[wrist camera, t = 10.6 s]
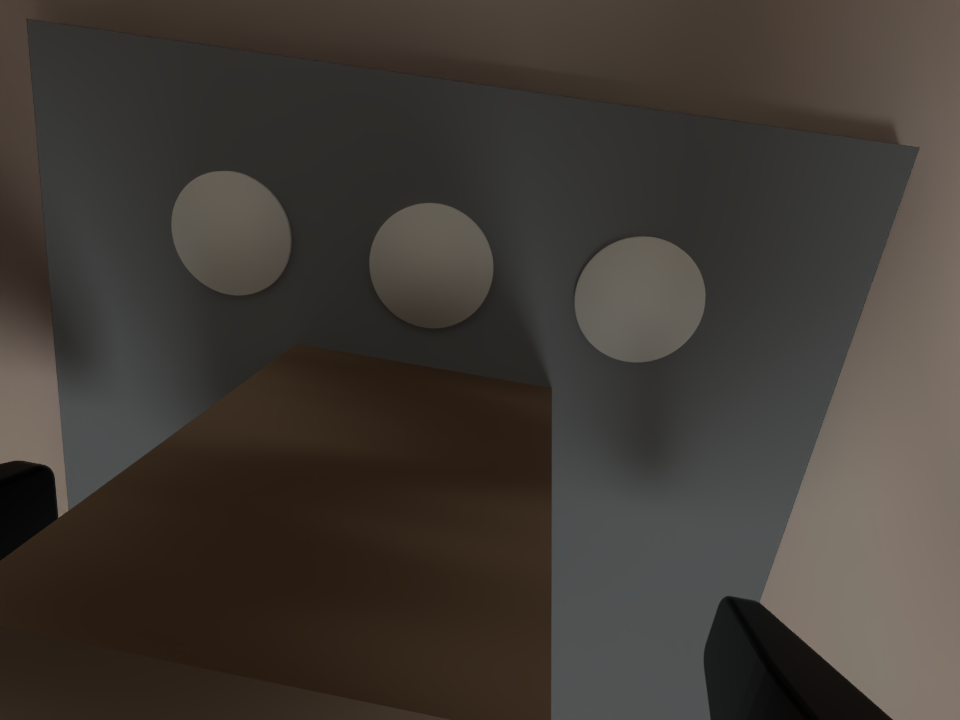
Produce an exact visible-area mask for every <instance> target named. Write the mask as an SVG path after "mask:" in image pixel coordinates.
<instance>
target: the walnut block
mask: <svg viewBox="0 0 960 720" xmlns="http://www.w3.org/2000/svg"><path fill="white" fill-rule="evenodd" d="M551 614H552V388H548V387H543V386H537V385H531V384H525V383H520V382H514V381H508V380H502V379H496V378H491V377H485V376H479V375H473V374H468V373H462V372H456V371H450V370H445V369H439V368H433V367H427V366H421V365H416V364H410V363H404V362H398V361H393V360H387V359H381V358H375V357H369V356H364V355H358V354H352V353H346V352H341V351H335V350H329V349H323V348H318V347H312V346H306V345H300V344H295V345H294V346H293V347H291V348H290V349H289V350H287V351H286V352H284V353H283V354H282V355H280V356H279V357H278V358H276V359H275V360H274V361H272V362H271V363H269V364H268V365H267V366H265V367H264V368H263V369H261V370H260V371H259V372H257V373H256V374H254V375H253V376H252V377H250V378H249V379H248V380H246V381H245V382H244V383H242V384H241V385H239V386H238V387H237V388H235V389H234V390H233V391H231V392H230V393H229V394H227V395H226V396H224V397H223V398H222V399H220V400H219V401H218V402H216V403H215V404H214V405H212V406H211V407H209V408H208V409H207V410H205V411H204V412H203V413H201V414H200V415H199V416H197V417H196V418H194V419H193V420H192V421H190V422H189V423H188V424H186V425H185V426H184V427H182V428H181V429H179V430H178V431H177V432H175V433H174V434H173V435H171V436H170V437H169V438H167V439H166V440H164V441H163V442H162V443H160V444H159V445H158V446H156V447H155V448H153V449H152V450H151V451H149V452H148V453H147V454H145V455H144V456H143V457H141V458H140V459H138V460H137V461H136V462H134V463H133V464H132V465H130V466H129V467H128V468H126V469H125V470H123V471H122V472H121V473H119V474H118V475H117V476H115V477H114V478H113V479H111V480H110V481H108V482H107V483H106V484H104V485H103V486H102V487H100V488H99V489H98V490H96V491H95V492H93V493H92V494H91V495H89V496H88V497H87V498H85V499H84V500H83V501H81V502H80V503H78V504H77V505H76V506H74V507H73V508H72V509H70V510H69V511H68V512H66V513H65V514H63V515H62V516H61V517H59V518H58V519H57V520H55V521H54V522H53V523H51V524H50V525H48V526H47V527H46V528H44V529H43V530H42V531H40V532H39V533H38V534H36V535H35V536H33V537H32V538H31V539H29V540H28V541H27V542H25V543H24V544H23V545H21V546H20V547H18V548H17V549H16V550H14V551H13V552H12V553H10V554H9V555H7V556H6V557H5V558H3V559H2V560H1V561H0V720H551Z"/></svg>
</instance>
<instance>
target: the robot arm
mask: <svg viewBox="0 0 960 720" xmlns="http://www.w3.org/2000/svg"><path fill="white" fill-rule="evenodd" d="M57 519H58V509H57V498H56V487H55V477H54V473H53V472H52V470H51V468H49V467H48V466H46V465H42V464H37V463H31V462H26V461H12V462H7V463H3V464H0V561H1V560H2V559H3V558H5V557H6V556H7V555H9V554H10V553H12V552H13V551H14V550H16V549H17V548H18V547H20V546H21V545H23V544H24V543H25V542H27V541H28V540H29V539H31V538H32V537H33V536H35V535H36V534H38V533H39V532H40V531H42V530H43V529H44V528H46V527H47V526H48V525H50V524H51V523H53V522H54V521H55V520H57ZM703 659H704V672H705V680H706V688H707V696H708V703H709V711H710V719H711V720H893V719H891V718H890V717H889V716H888V715H887V714H886V713H885V712H883V711H882V710H881V709H880V708H879V707H878V706H877V705H875V704H874V703H873V702H872V701H871V700H870V699H869V698H867V697H866V696H865V695H864V694H863V693H862V692H861V691H860V690H858V689H857V688H856V687H855V686H854V685H853V684H852V683H850V682H849V681H848V680H847V679H846V678H845V677H844V676H842V675H841V674H840V673H839V672H838V671H837V670H836V669H834V668H833V667H832V666H831V665H830V664H829V663H828V662H826V661H825V660H824V659H823V658H822V657H821V656H820V655H819V654H817V653H816V652H815V651H814V650H813V649H812V648H811V647H809V646H808V645H807V644H806V643H805V642H804V641H803V640H801V639H800V638H799V637H798V636H797V635H796V634H795V633H793V632H792V631H791V630H790V629H789V628H788V627H787V626H786V625H784V624H783V623H782V622H781V621H780V620H779V619H778V618H776V617H775V616H774V615H773V614H772V613H771V612H770V611H768V610H767V609H766V608H765V607H764V606H763V605H762V604H760V603H759V602H757V601H755V600H750V599H744V598H739V597H734V596H726V597H724V598H722V600H721V601H720V603H719V605H718V608H717V611H716V614H715V617H714V620H713V623H712V626H711V629H710V632H709V635H708V638H707V641H706V644H705V649H704V658H703Z"/></svg>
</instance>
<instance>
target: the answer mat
mask: <svg viewBox="0 0 960 720" xmlns="http://www.w3.org/2000/svg"><path fill="white" fill-rule="evenodd" d="M27 31H28V43H29V54H30V66H31V78H32V89H33V101H34V112H35V124H36V136H37V147H38V159H39V171H40V182H41V194H42V206H43V217H44V229H45V241H46V252H47V264H48V276H49V287H50V299H51V311H52V322H53V334H54V345H55V357H56V369H57V380H58V392H59V404H60V415H61V427H62V439H63V450H64V462H65V474H66V485H67V497H68V509H69V510H70V509H72V508H73V507H74V506H76V505H77V504H78V503H80V502H81V501H83V500H84V499H85V498H87V497H88V496H89V495H91V494H92V493H93V492H95V491H96V490H98V489H99V488H100V487H102V486H103V485H104V484H106V483H107V482H108V481H110V480H111V479H113V478H114V477H115V476H117V475H118V474H119V473H121V472H122V471H123V470H125V469H126V468H128V467H129V466H130V465H132V464H133V463H134V462H136V461H137V460H138V459H140V458H141V457H143V456H144V455H145V454H147V453H148V452H149V451H151V450H152V449H153V448H155V447H156V446H158V445H159V444H160V443H162V442H163V441H164V440H166V439H167V438H169V437H170V436H171V435H173V434H174V433H175V432H177V431H178V430H179V429H181V428H182V427H184V426H185V425H186V424H188V423H189V422H190V421H192V420H193V419H194V418H196V417H197V416H199V415H200V414H201V413H203V412H204V411H205V410H207V409H208V408H209V407H211V406H212V405H214V404H215V403H216V402H218V401H219V400H220V399H222V398H223V397H224V396H226V395H227V394H229V393H230V392H231V391H233V390H234V389H235V388H237V387H238V386H239V385H241V384H242V383H244V382H245V381H246V380H248V379H249V378H250V377H252V376H253V375H254V374H256V373H257V372H259V371H260V370H261V369H263V368H264V367H265V366H267V365H268V364H269V363H271V362H272V361H274V360H275V359H276V358H278V357H279V356H280V355H282V354H283V353H284V352H286V351H287V350H289V349H290V348H291V347H293V346H294V345H295V344H300V345H306V346H312V347H318V348H323V349H329V350H335V351H341V352H346V353H352V354H358V355H364V356H369V357H375V358H381V359H387V360H393V361H398V362H404V363H410V364H416V365H421V366H427V367H433V368H439V369H445V370H450V371H456V372H462V373H468V374H473V375H479V376H485V377H491V378H496V379H502V380H508V381H514V382H520V383H525V384H531V385H537V386H543V387H548V388H552V614H551V720H711V719H710V711H709V703H708V696H707V688H706V680H705V672H704V659H703V658H704V649H705V644H706V641H707V638H708V635H709V632H710V629H711V626H712V623H713V620H714V617H715V614H716V611H717V608H718V605H719V603H720V601H721V600H722V598H724V597H726V596H734V597H739V598H744V599H750V600H755V601H757V602H760V599H761V596H762V593H763V590H764V587H765V585H766V582H767V579H768V576H769V573H770V570H771V568H772V565H773V562H774V559H775V556H776V553H777V550H778V548H779V545H780V542H781V539H782V536H783V533H784V531H785V528H786V525H787V522H788V519H789V516H790V514H791V511H792V508H793V505H794V502H795V499H796V497H797V494H798V491H799V488H800V485H801V482H802V480H803V477H804V474H805V471H806V468H807V465H808V463H809V460H810V457H811V454H812V451H813V448H814V446H815V443H816V440H817V437H818V434H819V431H820V429H821V426H822V423H823V420H824V417H825V414H826V412H827V409H828V406H829V403H830V400H831V397H832V394H833V392H834V389H835V386H836V383H837V380H838V377H839V375H840V372H841V369H842V366H843V363H844V360H845V358H846V355H847V352H848V349H849V346H850V343H851V341H852V338H853V335H854V332H855V329H856V326H857V324H858V321H859V318H860V315H861V312H862V309H863V307H864V304H865V301H866V298H867V295H868V292H869V290H870V287H871V284H872V281H873V278H874V275H875V273H876V270H877V267H878V264H879V261H880V258H881V255H882V253H883V250H884V247H885V244H886V241H887V238H888V236H889V233H890V230H891V227H892V224H893V221H894V219H895V216H896V213H897V210H898V207H899V204H900V202H901V199H902V196H903V193H904V190H905V187H906V185H907V182H908V179H909V176H910V173H911V170H912V168H913V165H914V162H915V159H916V156H917V153H918V151H919V148H920V147H913V146H906V145H899V144H892V143H885V142H878V141H871V140H864V139H857V138H850V137H843V136H836V135H829V134H822V133H815V132H808V131H802V130H795V129H788V128H781V127H774V126H767V125H760V124H753V123H746V122H739V121H732V120H725V119H718V118H711V117H704V116H697V115H690V114H683V113H676V112H670V111H663V110H656V109H649V108H642V107H635V106H628V105H621V104H614V103H607V102H600V101H593V100H586V99H579V98H572V97H565V96H558V95H551V94H545V93H538V92H531V91H524V90H517V89H510V88H503V87H496V86H489V85H482V84H475V83H468V82H461V81H454V80H447V79H440V78H433V77H426V76H419V75H413V74H406V73H399V72H392V71H385V70H378V69H371V68H364V67H357V66H350V65H343V64H336V63H329V62H322V61H315V60H308V59H301V58H294V57H288V56H281V55H274V54H267V53H260V52H253V51H246V50H239V49H232V48H225V47H218V46H211V45H204V44H197V43H190V42H183V41H176V40H169V39H162V38H156V37H149V36H142V35H135V34H128V33H121V32H114V31H107V30H100V29H93V28H86V27H79V26H72V25H65V24H58V23H51V22H44V21H37V20H30V19H27Z"/></svg>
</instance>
